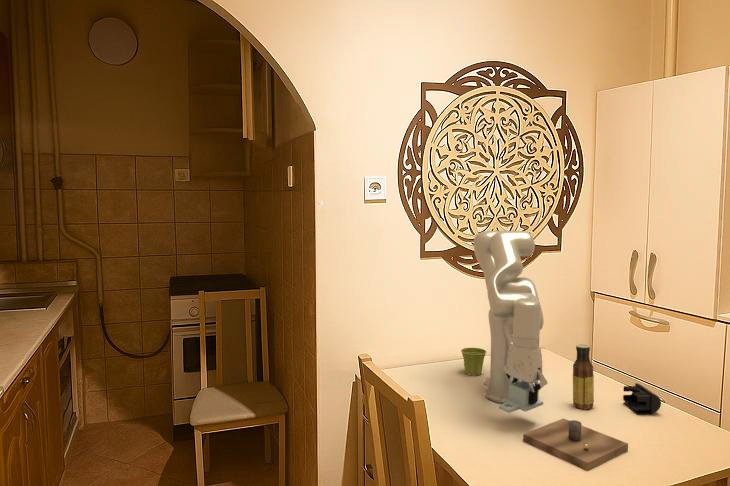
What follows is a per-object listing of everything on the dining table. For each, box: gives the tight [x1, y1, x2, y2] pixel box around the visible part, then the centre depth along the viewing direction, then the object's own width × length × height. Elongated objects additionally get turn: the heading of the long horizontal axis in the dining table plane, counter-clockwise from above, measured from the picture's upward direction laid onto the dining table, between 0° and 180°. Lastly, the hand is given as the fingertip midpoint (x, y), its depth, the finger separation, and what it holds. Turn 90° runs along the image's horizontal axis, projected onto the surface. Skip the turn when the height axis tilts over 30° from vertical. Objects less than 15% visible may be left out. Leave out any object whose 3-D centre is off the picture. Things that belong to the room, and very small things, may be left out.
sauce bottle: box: [572, 343, 595, 410], centre depth 178 cm, size 7×6×20 cm
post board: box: [522, 418, 629, 471], centre depth 152 cm, size 20×18×6 cm
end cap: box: [622, 383, 662, 416], centre depth 176 cm, size 10×7×7 cm
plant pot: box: [460, 347, 487, 376], centre depth 211 cm, size 9×9×9 cm
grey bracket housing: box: [498, 380, 544, 414], centre depth 165 cm, size 13×8×6 cm, turn 125°
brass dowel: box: [584, 443, 589, 451], centre depth 145 cm, size 1×1×2 cm
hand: (523, 398), depth 166 cm, fingers closed on grey bracket housing, 6 cm apart
